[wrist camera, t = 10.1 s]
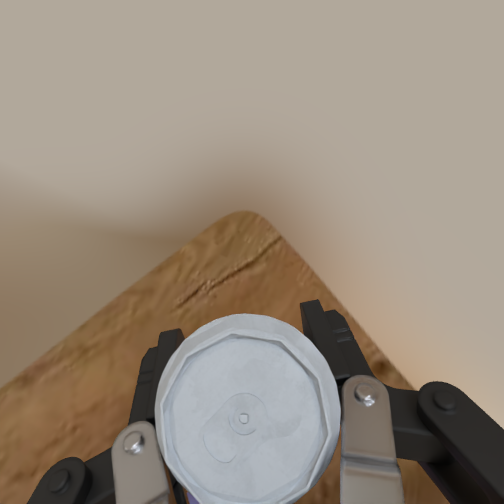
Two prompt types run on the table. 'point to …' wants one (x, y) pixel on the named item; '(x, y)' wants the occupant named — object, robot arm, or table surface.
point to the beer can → (247, 412)
